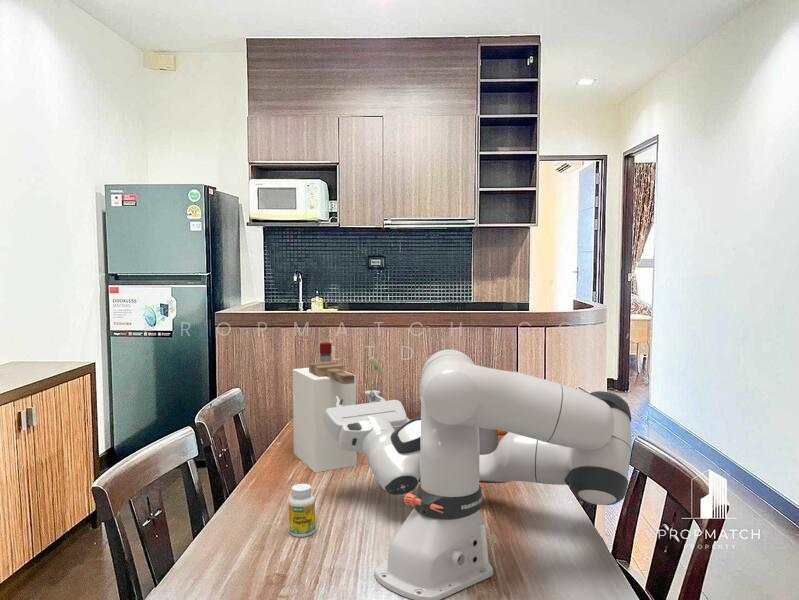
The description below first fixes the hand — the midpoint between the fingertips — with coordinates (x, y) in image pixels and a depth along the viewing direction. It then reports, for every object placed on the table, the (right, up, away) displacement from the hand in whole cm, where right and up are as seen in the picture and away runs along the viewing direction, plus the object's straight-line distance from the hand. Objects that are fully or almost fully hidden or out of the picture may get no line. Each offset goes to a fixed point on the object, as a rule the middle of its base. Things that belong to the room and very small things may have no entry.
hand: (354, 395), depth 151 cm
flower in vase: (+2, -20, +45) cm, 49 cm away
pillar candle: (+35, -21, +23) cm, 47 cm away
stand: (-10, -21, +19) cm, 30 cm away
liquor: (-12, -20, +42) cm, 48 cm away
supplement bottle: (-9, -24, -26) cm, 37 cm away
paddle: (-6, +3, +11) cm, 13 cm away
